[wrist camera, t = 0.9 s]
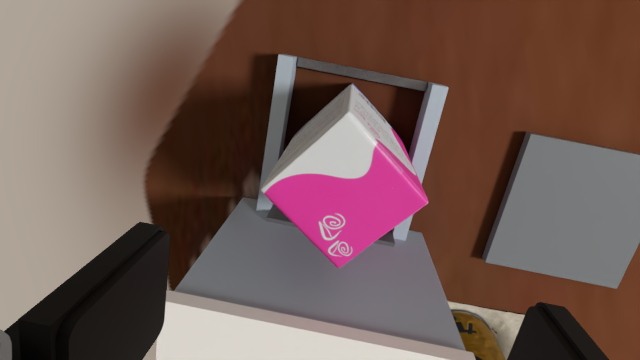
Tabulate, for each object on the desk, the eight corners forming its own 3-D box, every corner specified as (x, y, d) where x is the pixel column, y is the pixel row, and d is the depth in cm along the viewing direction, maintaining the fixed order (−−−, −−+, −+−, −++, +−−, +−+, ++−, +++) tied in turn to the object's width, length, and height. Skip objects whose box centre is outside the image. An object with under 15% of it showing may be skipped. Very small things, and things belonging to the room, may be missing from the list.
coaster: (526, 131, 28) (531, 134, 27) (669, 159, 28) (678, 162, 27) (481, 257, 31) (485, 262, 30) (610, 282, 31) (616, 288, 30)
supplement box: (290, 136, 29) (254, 188, 19) (352, 80, 28) (352, 101, 17) (343, 193, 30) (338, 274, 20) (405, 142, 29) (437, 199, 18)
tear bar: (299, 57, 28) (298, 57, 27) (426, 81, 27) (427, 82, 27) (297, 66, 28) (296, 66, 27) (423, 90, 28) (425, 91, 27)
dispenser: (259, 49, 28) (175, 50, 15) (466, 89, 27) (570, 127, 14) (229, 286, 34) (151, 437, 21) (398, 320, 34) (427, 495, 20)
